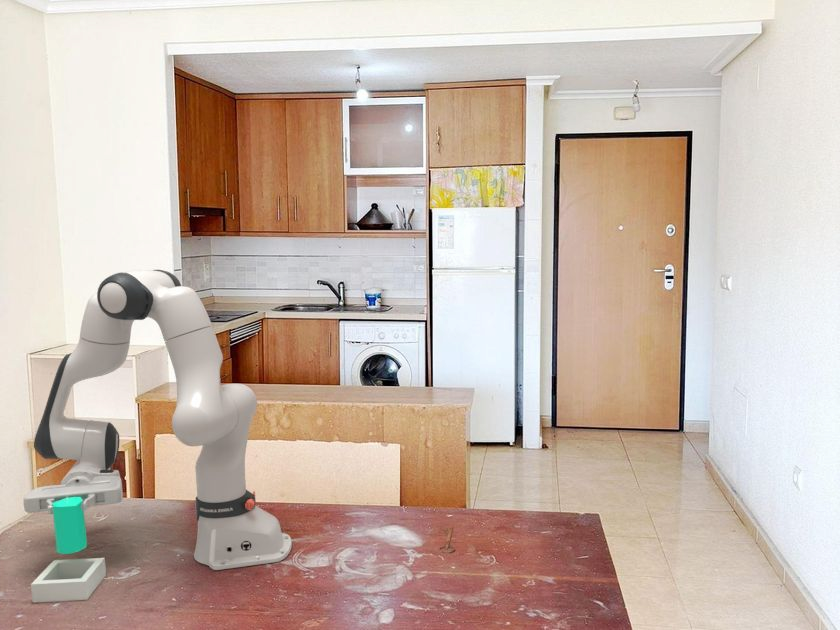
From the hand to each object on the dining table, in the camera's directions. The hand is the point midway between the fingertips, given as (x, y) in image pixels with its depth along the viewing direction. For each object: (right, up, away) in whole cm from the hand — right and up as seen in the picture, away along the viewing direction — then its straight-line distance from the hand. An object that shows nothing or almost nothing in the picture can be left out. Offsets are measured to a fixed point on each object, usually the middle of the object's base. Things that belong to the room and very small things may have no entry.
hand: (67, 508), depth 159 cm
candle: (0, -9, +2) cm, 9 cm away
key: (+82, -13, +19) cm, 85 cm away
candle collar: (+1, -17, -1) cm, 17 cm away
